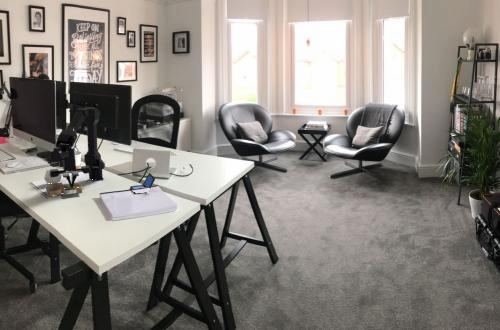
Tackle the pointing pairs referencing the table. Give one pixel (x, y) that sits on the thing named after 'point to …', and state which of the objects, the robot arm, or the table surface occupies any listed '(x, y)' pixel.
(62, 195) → the pit mat
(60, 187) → the walnut block
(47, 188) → the tunnel
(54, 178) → the die
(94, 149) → the robot arm
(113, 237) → the table surface
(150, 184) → the handheld game console
